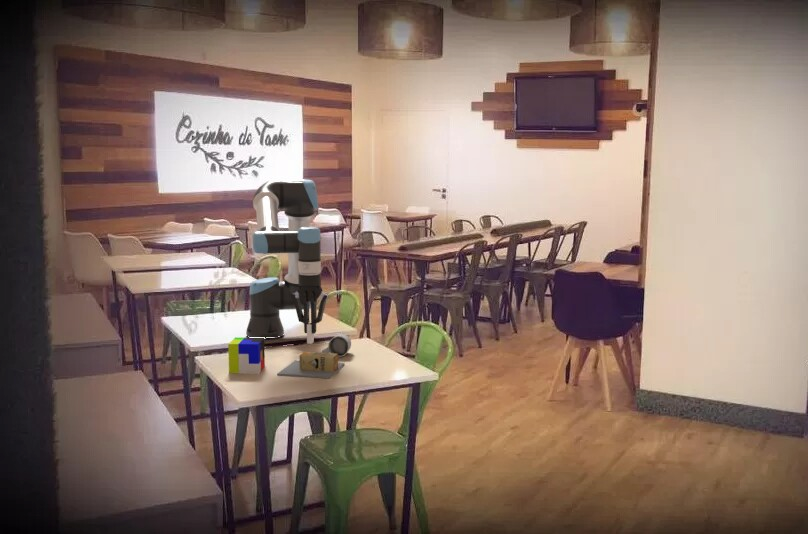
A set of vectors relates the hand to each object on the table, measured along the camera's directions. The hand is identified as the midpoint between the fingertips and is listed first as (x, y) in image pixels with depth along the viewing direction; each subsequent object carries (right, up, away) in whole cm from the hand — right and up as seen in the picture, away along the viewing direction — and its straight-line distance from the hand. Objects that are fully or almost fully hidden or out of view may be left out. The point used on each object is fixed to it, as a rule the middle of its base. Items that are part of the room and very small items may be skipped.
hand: (310, 342), depth 266 cm
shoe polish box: (-3, -6, +1) cm, 7 cm away
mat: (0, -9, +1) cm, 10 cm away
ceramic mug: (+7, -7, +23) cm, 25 cm away
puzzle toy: (-22, -10, +2) cm, 24 cm away
